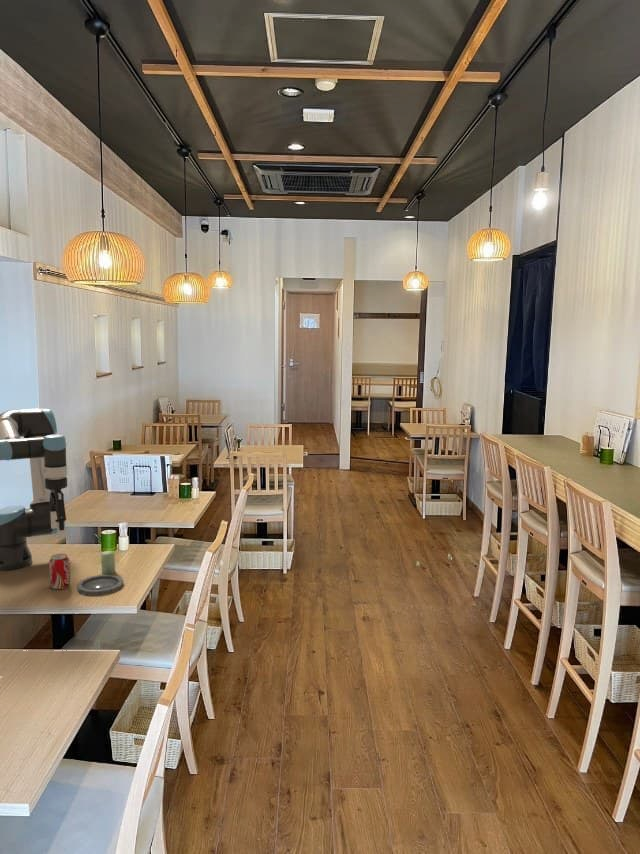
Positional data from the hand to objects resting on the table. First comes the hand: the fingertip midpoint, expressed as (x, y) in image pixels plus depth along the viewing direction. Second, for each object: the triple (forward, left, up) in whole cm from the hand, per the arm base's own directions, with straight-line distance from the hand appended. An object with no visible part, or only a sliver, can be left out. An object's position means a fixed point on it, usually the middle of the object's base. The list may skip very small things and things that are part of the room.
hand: (58, 533), depth 226 cm
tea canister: (-6, +19, -21) cm, 29 cm away
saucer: (+7, +13, -21) cm, 26 cm away
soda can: (0, 0, -21) cm, 21 cm away
